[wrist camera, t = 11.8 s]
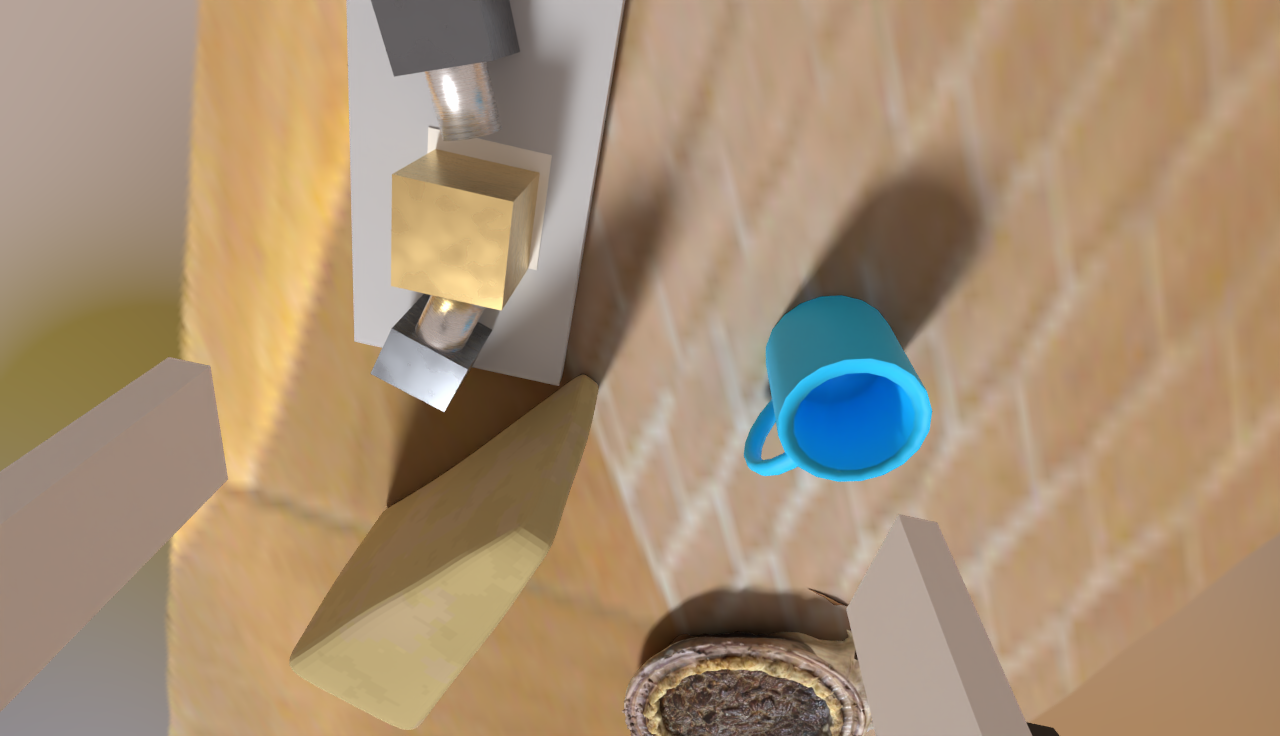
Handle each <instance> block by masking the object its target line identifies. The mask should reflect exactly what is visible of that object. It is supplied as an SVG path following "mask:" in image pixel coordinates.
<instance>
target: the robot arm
mask: <svg viewBox="0 0 1280 736" xmlns="http://www.w3.org/2000/svg"><path fill="white" fill-rule="evenodd" d="M227 480H228V476H227V470H226V464H225V457H224V451H223V444H222V438H221V431H220V425H219V419H218V412H217V406H216V399H215V393H214V386H213V380H212V374H211V367H210V366H208V365H203V364H199V363H194V362H189V361H185V360H180V359H175V358H170V357H168V358H167V359H165V360H164V361H162V362H161V363H159V364H158V365H156V366H155V367H153V368H152V369H151V370H149V371H148V372H146V373H145V374H143V375H142V376H140V377H139V378H137V379H136V380H134V381H133V382H131V383H130V384H129V385H127V386H125V387H124V388H123V389H121V390H120V391H118V392H117V393H115V394H114V395H112V396H111V397H109V398H108V399H107V400H105V401H103V402H102V403H101V404H99V405H98V406H96V407H95V408H93V409H92V410H90V411H89V412H87V413H86V414H84V415H83V416H82V417H80V418H78V419H77V420H75V421H74V422H72V423H71V424H70V425H68V426H67V427H65V428H64V429H62V430H61V431H59V432H58V433H56V434H55V435H53V436H52V437H51V438H49V439H47V440H46V441H44V442H43V443H42V444H40V445H39V446H37V447H36V448H34V449H33V450H31V451H30V452H28V453H27V454H25V455H24V456H22V457H21V458H19V459H18V460H17V461H15V462H14V463H12V464H11V465H9V466H8V467H6V468H5V469H3V470H2V471H0V712H1V710H3V709H4V708H5V707H6V706H7V704H8V703H9V702H10V701H11V700H12V699H13V698H14V697H15V696H16V695H17V694H18V693H19V692H20V691H21V690H22V689H23V688H24V687H25V686H26V685H27V684H28V683H29V682H30V681H31V680H32V679H33V678H34V677H35V676H36V675H37V674H38V673H39V672H40V671H41V670H42V669H43V668H44V667H45V666H46V665H47V664H48V663H49V662H50V660H51V659H53V658H54V656H55V655H56V654H57V653H58V652H59V651H60V650H61V649H62V648H63V647H64V646H65V645H66V644H67V643H68V642H69V641H70V640H71V639H72V638H73V637H74V636H75V635H76V634H77V633H78V632H79V631H80V630H81V629H82V628H83V627H84V626H85V625H86V624H87V623H88V622H89V621H90V620H91V619H92V617H94V616H95V614H97V613H98V611H100V609H101V608H102V607H103V606H104V605H105V604H106V603H107V602H108V601H109V600H110V599H111V598H112V597H113V596H114V595H115V594H116V593H117V592H118V591H119V590H120V589H121V588H122V587H123V586H124V585H125V584H126V583H127V582H128V581H129V580H130V579H131V578H132V577H133V576H134V575H135V574H136V573H137V572H138V571H139V570H140V569H141V568H142V567H143V565H144V564H146V562H147V561H148V560H149V559H150V558H151V557H152V556H153V555H154V554H155V553H156V552H157V551H158V550H159V549H160V548H161V547H162V546H163V545H164V544H165V543H166V542H167V541H168V540H169V539H170V538H171V537H172V536H173V535H174V534H175V533H176V532H177V531H178V530H179V529H180V528H181V527H182V526H183V525H184V524H185V523H186V522H187V521H188V520H189V519H190V518H191V517H192V515H193V514H194V513H195V512H196V511H197V510H198V509H199V508H200V507H201V506H202V505H203V504H204V503H205V502H206V501H207V500H208V499H209V498H210V497H211V496H212V495H213V494H214V493H215V492H216V491H217V490H218V489H219V488H220V487H221V486H222V485H223V484H224V483H225V482H226V481H227ZM846 610H847V615H848V619H849V623H850V627H851V632H852V636H853V640H854V644H855V649H856V653H857V657H858V661H859V666H860V670H861V674H862V678H863V683H864V687H865V691H866V695H867V700H868V704H869V708H870V713H871V717H872V721H873V725H874V730H875V734H876V736H1059V735H1058V733H1057V732H1056V731H1055V730H1054V728H1051V727H1046V726H1041V725H1037V724H1032V723H1027V722H1026V721H1025V718H1024V716H1023V714H1022V712H1021V709H1020V707H1019V705H1018V703H1017V700H1016V698H1015V696H1014V694H1013V691H1012V689H1011V687H1010V685H1009V683H1008V680H1007V678H1006V676H1005V674H1004V671H1003V669H1002V667H1001V665H1000V662H999V660H998V658H997V656H996V653H995V651H994V649H993V647H992V644H991V642H990V640H989V638H988V635H987V633H986V631H985V629H984V626H983V624H982V622H981V620H980V617H979V615H978V613H977V611H976V608H975V606H974V604H973V602H972V600H971V597H970V595H969V593H968V591H967V588H966V586H965V584H964V582H963V579H962V577H961V575H960V573H959V570H958V568H957V566H956V564H955V561H954V559H953V557H952V555H951V552H950V550H949V548H948V546H947V543H946V541H945V539H944V537H943V534H942V532H941V530H940V528H939V525H938V523H937V522H933V521H928V520H923V519H919V518H914V517H910V516H905V515H900V514H898V516H897V517H896V519H895V521H894V523H893V525H892V527H891V528H890V530H889V532H888V534H887V536H886V538H885V539H884V541H883V543H882V545H881V547H880V549H879V550H878V552H877V554H876V556H875V558H874V559H873V561H872V563H871V565H870V567H869V569H868V570H867V572H866V574H865V576H864V578H863V580H862V581H861V583H860V585H859V587H858V589H857V591H856V592H855V594H854V596H853V598H852V600H851V601H850V603H849V605H848V607H847V609H846Z"/></svg>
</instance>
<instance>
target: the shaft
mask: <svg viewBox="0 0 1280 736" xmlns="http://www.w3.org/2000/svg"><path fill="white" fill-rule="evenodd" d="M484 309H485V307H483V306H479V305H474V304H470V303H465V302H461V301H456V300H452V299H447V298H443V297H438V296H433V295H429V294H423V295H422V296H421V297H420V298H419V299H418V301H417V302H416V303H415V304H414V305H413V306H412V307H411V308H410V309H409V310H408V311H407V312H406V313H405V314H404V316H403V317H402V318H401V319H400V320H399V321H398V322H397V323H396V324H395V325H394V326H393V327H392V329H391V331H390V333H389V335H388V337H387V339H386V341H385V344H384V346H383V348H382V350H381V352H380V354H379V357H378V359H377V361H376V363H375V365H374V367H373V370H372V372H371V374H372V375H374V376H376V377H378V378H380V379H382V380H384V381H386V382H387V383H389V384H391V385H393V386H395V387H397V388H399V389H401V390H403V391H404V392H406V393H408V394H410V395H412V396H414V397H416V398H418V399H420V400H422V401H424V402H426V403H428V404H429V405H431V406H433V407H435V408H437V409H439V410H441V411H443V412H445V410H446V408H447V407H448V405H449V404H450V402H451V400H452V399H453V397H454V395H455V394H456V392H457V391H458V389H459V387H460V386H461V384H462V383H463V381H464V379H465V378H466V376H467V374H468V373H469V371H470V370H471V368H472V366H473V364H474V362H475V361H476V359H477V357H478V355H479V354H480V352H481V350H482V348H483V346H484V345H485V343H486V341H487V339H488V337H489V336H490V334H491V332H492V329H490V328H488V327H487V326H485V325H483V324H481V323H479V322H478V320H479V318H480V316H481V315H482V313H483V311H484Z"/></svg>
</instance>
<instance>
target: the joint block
mask: <svg viewBox="0 0 1280 736" xmlns="http://www.w3.org/2000/svg"><path fill="white" fill-rule="evenodd" d="M539 175H540V173H539V172H535V171H530V170H526V169H521V168H517V167H513V166H508V165H504V164H500V163H495V162H491V161H486V160H482V159H478V158H473V157H469V156H465V155H460V154H456V153H451V152H447V151H443V150H438V149H435V150H433V151H431V152H429V153H428V154H426V155H424V156H423V157H421V158H419V159H417V160H416V161H414V162H412V163H410V164H409V165H407V166H405V167H404V168H402V169H400V170H398V171H397V172H395V173H393V174H392V219H391V286H393V287H397V288H402V289H406V290H411V291H415V292H420V293H424V294H429V295H433V296H438V297H443V298H447V299H452V300H456V301H461V302H465V303H470V304H474V305H479V306H483V307H488V308H492V309H497V310H501V311H502V309H503V308H504V306H505V305H506V303H507V302H508V300H509V298H510V297H511V295H512V294H513V292H514V291H515V289H516V287H517V286H518V284H519V283H520V281H521V280H522V278H523V276H524V275H525V273H526V272H527V270H528V264H529V256H530V248H531V240H532V232H533V224H534V216H535V208H536V200H537V192H538V183H539Z"/></svg>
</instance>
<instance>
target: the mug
mask: <svg viewBox="0 0 1280 736" xmlns="http://www.w3.org/2000/svg"><path fill="white" fill-rule="evenodd" d="M766 367H767V372H768V378H769V384H770V390H771V396H772V399H771V401H770V402H769V403H768V404H767V406H766V407H765V408H764V409H763V411H762V412H761V413H760V415H759V416H758V418H757V419H756V421H755V423H754V424H753V426H752V428H751V430H750V432H749V435H748V437H747V440H746V442H745V450H744V458H745V460H746V463H747V465H748V467H749V468H750V469H751V470H752V471H754V472H756V473H758V474H760V475H763V476H770V475H780V474H782V473H784V472H787V471H789V470H792V469H794V468H796V467H800V468H801V469H803V470H805V471H807V472H809V473H811V474H812V475H814V476H816V477H820V478H824V479H829V480H833V481H838V482H841V481H863V480H866V479H870V478H874V477H878V476H882V475H884V474H886V473H888V472H890V471H892V470H893V469H895V468H897V467H899V466H901V465H903V464H904V463H905V462H906V461H907V460H908V459H909V458H910V457H911V456H912V455H913V454H914V453H915V452H917V451H918V450H919V449H920V447H921V445H922V443H923V441H924V439H925V438H926V436H927V434H928V432H929V429H930V422H931V415H932V409H931V405H930V401H929V398H928V394H927V391H926V389H925V388H924V386H923V384H922V382H921V380H920V379H919V377H918V375H917V373H916V372H915V370H914V368H913V366H912V365H911V363H910V361H909V359H908V357H907V356H906V354H905V352H904V350H903V349H902V347H901V345H900V343H899V341H898V340H897V338H896V336H895V334H894V333H893V331H892V329H891V327H890V326H889V324H888V323H887V321H886V320H885V319H884V317H883V316H882V315H881V314H880V312H879V311H878V310H877V309H875V308H874V307H872V306H870V305H869V304H867V303H866V302H864V301H862V300H859V299H855V298H851V297H847V296H842V295H839V296H822V297H818V298H815V299H812V300H809V301H806V302H804V303H801V304H799V305H798V306H796V307H795V308H794V309H792V310H791V311H789V312H788V313H786V314H785V315H784V316H783V317H782V318H781V320H780V321H779V322H778V323H777V325H776V326H775V327H774V328H773V330H772V332H771V335H770V337H769V340H768V343H767V346H766ZM775 422H776V425H777V431H778V436H779V438H780V441H781V443H782V446H783V448H784V451H785V452H784V453H783V454H781V455H779V456H776V457H774V458H772V459H768V460H762V458H761V452H762V447H763V444H764V442H765V439H766V437H767V435H768V433H769V432H770V430H771V428H772V427H773V425H774V423H775Z"/></svg>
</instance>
